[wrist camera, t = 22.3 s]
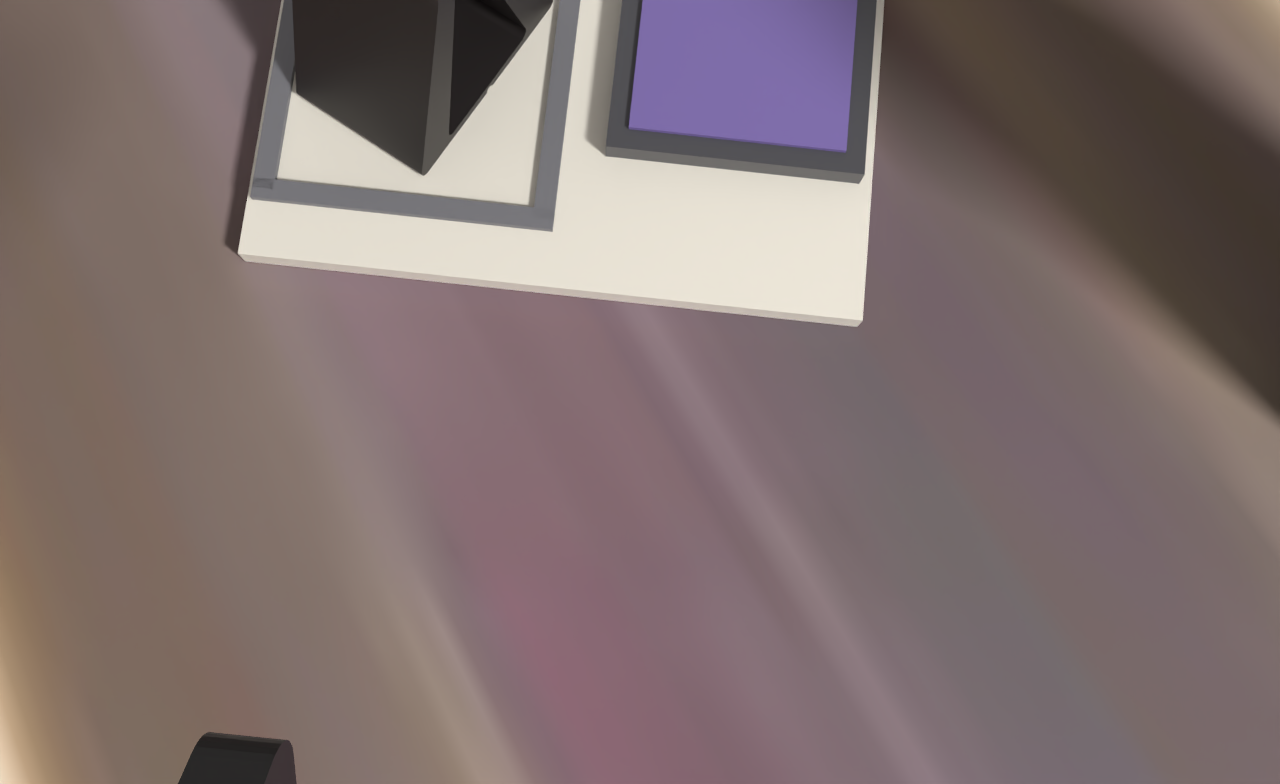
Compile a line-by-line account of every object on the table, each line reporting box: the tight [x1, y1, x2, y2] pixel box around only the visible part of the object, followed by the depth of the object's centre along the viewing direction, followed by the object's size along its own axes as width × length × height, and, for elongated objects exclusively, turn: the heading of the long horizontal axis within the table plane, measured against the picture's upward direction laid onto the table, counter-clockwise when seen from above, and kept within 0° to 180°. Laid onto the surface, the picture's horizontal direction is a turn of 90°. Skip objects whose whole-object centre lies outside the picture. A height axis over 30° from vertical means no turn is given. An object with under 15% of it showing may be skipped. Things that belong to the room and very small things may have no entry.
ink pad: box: [606, 0, 877, 184], centre depth 47 cm, size 10×12×1 cm
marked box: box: [250, 0, 581, 232], centre depth 47 cm, size 12×15×1 cm
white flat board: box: [238, 0, 884, 327], centre depth 48 cm, size 24×19×1 cm
